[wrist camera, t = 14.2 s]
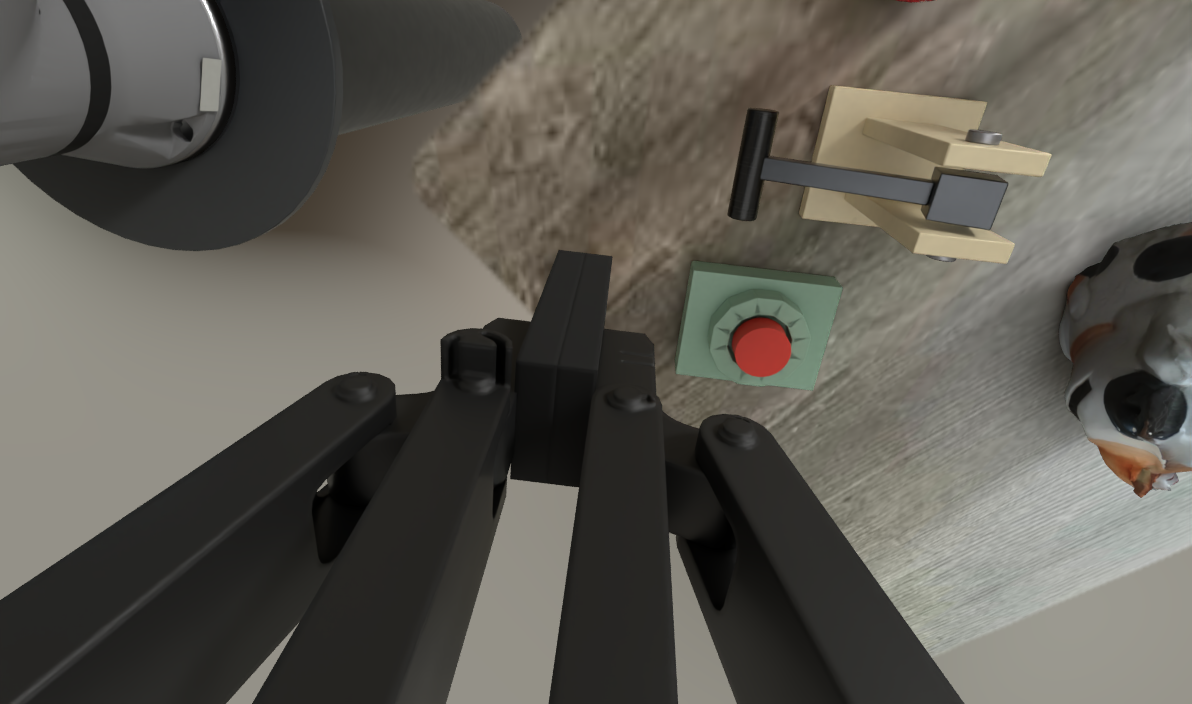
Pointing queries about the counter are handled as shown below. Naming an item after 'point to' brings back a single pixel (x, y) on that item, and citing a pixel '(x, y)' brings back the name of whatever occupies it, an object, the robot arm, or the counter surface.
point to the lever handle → (860, 181)
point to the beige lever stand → (912, 165)
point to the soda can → (914, 0)
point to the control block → (749, 293)
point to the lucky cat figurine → (1135, 356)
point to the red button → (761, 347)
